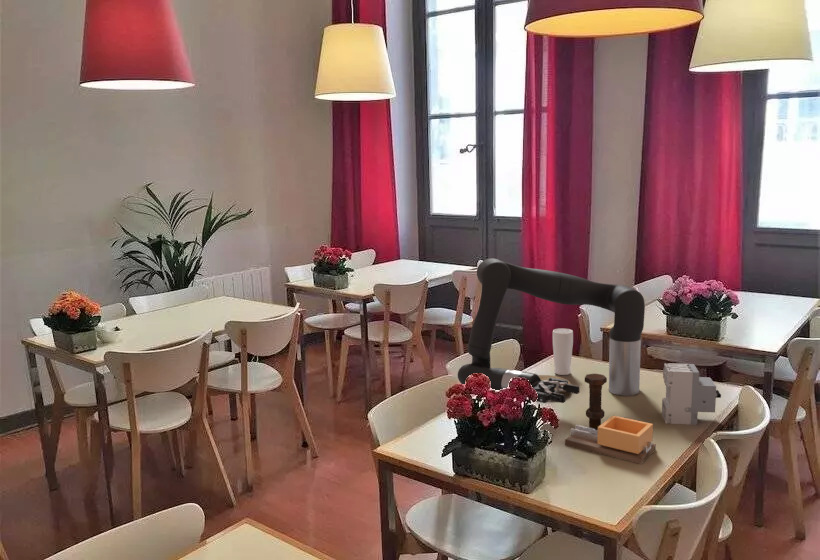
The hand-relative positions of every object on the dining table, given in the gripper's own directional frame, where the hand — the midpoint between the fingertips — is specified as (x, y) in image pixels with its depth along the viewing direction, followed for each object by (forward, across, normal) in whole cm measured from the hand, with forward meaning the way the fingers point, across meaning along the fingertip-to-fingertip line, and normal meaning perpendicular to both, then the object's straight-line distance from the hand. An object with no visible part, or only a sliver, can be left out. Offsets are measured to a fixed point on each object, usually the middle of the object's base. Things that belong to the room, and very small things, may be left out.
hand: (572, 394), depth 193 cm
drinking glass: (-22, +39, +9) cm, 46 cm away
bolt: (+7, 0, +9) cm, 11 cm away
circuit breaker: (+26, +21, +9) cm, 34 cm away
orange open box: (+19, -9, +6) cm, 22 cm away
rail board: (+15, -9, +8) cm, 19 cm away
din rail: (+15, -9, +7) cm, 19 cm away
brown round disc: (-19, +20, +9) cm, 29 cm away
